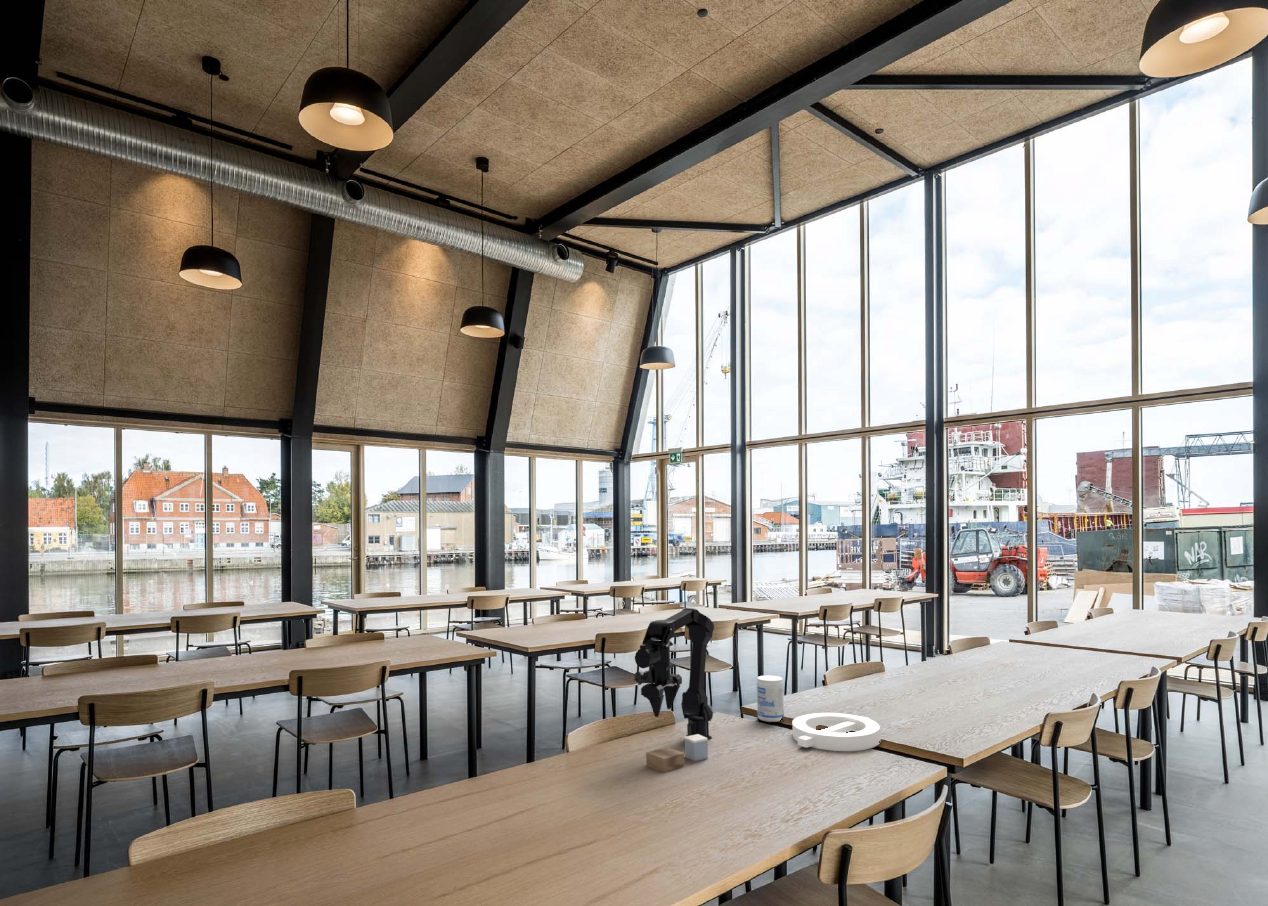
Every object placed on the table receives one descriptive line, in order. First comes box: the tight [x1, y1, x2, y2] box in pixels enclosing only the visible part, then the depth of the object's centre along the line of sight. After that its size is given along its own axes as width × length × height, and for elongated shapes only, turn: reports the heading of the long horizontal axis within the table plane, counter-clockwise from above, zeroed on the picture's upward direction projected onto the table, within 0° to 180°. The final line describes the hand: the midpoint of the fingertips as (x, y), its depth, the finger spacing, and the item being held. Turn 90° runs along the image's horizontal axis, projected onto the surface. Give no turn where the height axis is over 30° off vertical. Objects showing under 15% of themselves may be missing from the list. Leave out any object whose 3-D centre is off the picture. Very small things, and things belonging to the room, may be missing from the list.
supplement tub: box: [756, 674, 785, 723], centre depth 259 cm, size 10×10×15 cm
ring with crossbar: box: [791, 712, 881, 752], centre depth 235 cm, size 28×28×5 cm
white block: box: [683, 734, 709, 762], centre depth 218 cm, size 5×5×6 cm
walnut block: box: [645, 746, 685, 773], centre depth 211 cm, size 8×8×4 cm
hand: (662, 712), depth 222 cm, fingers open, 9 cm apart
